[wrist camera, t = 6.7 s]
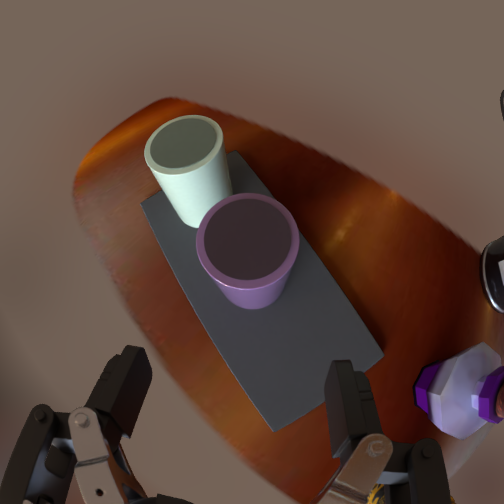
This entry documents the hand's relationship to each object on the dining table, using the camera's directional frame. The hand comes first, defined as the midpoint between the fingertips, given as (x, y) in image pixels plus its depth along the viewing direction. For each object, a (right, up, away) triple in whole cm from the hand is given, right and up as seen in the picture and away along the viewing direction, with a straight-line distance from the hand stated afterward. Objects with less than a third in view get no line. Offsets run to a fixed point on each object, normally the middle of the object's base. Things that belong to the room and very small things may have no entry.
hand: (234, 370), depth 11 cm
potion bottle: (+19, -9, +10) cm, 23 cm away
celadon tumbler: (-4, +10, +16) cm, 19 cm away
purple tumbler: (+1, +3, +13) cm, 14 cm away
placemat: (+1, +3, +14) cm, 14 cm away
